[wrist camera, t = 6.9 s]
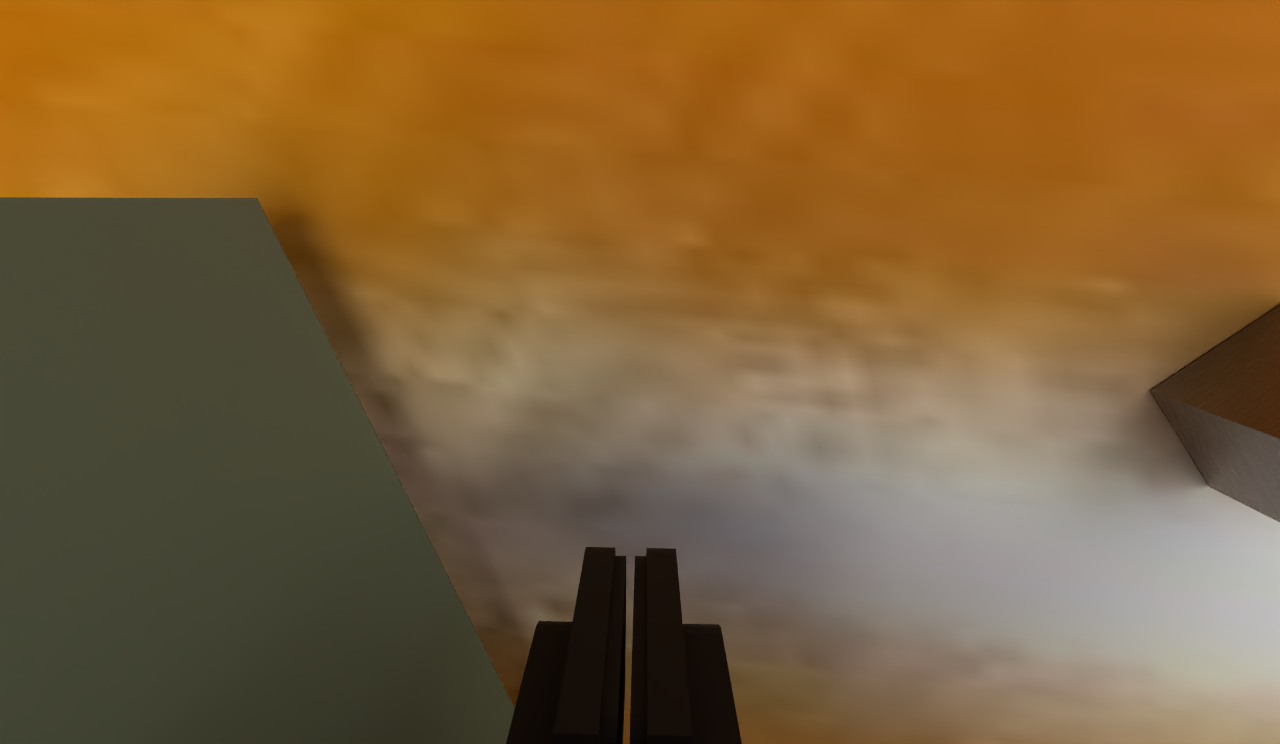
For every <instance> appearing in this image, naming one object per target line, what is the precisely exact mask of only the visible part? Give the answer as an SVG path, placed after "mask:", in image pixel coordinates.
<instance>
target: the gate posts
mask: <svg viewBox="0 0 1280 744" xmlns="http://www.w3.org/2000/svg"><path fill="white" fill-rule="evenodd" d="M1150 391H1151V393H1152V394H1153V396H1154V397H1155V399H1156V401H1157V402H1158V404H1159V406H1160V407H1161V409H1162V410H1163V412H1164V414H1165V415H1166V417H1167V418H1168V420H1169V422H1170V423H1171V425H1172V427H1173V428H1174V430H1175V431H1176V433H1177V435H1178V436H1179V438H1180V440H1181V441H1182V443H1183V444H1184V446H1185V448H1186V449H1187V451H1188V452H1189V454H1190V456H1191V457H1192V459H1193V461H1194V462H1195V464H1196V465H1197V467H1198V469H1199V470H1200V472H1201V474H1202V475H1203V477H1204V478H1205V480H1206V482H1207V483H1208V485H1209V486H1210V487H1211V488H1213V489H1215V490H1217V491H1219V492H1221V493H1223V494H1225V495H1227V496H1229V497H1231V498H1233V499H1235V500H1237V501H1239V502H1241V503H1243V504H1244V505H1246V506H1248V507H1250V508H1252V509H1254V510H1256V511H1258V512H1260V513H1262V514H1264V515H1266V516H1268V517H1270V518H1272V519H1274V520H1276V521H1278V522H1280V305H1279V306H1278V307H1276V308H1275V309H1273V310H1272V311H1270V312H1269V313H1267V314H1266V315H1264V316H1263V317H1261V318H1260V319H1258V320H1257V321H1255V322H1254V323H1252V324H1251V325H1249V326H1248V327H1246V328H1245V329H1243V330H1241V331H1240V332H1238V333H1237V334H1235V335H1234V336H1232V337H1231V338H1229V339H1228V340H1226V341H1225V342H1223V343H1222V344H1220V345H1219V346H1217V347H1216V348H1214V349H1213V350H1211V351H1210V352H1208V353H1207V354H1205V355H1204V356H1202V357H1200V358H1199V359H1197V360H1196V361H1194V362H1193V363H1191V364H1190V365H1188V366H1187V367H1185V368H1184V369H1182V370H1181V371H1179V372H1178V373H1176V374H1175V375H1173V376H1172V377H1170V378H1169V379H1167V380H1166V381H1164V382H1162V383H1161V384H1159V385H1158V386H1156V387H1155V388H1153V389H1152V390H1150Z"/></svg>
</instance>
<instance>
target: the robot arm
mask: <svg viewBox="0 0 1280 744" xmlns="http://www.w3.org/2000/svg"><path fill="white" fill-rule="evenodd" d="M625 649H626V556H615V548H608V547H586V549H585V554H584V560H583V566H582V572H581V577H580V583H579V589H578V595H577V600H576V606H575V612H574V618H573V622H553V621H539V622H538V624H537V626H536V629H535V633H534V637H533V641H532V644H531V648H530V652H529V656H528V660H527V664H526V668H525V671H524V675H523V679H522V683H521V687H520V691H519V695H518V699H517V702H516V706H515V710H514V714H513V718H512V722H511V726H510V729H509V733H508V737H507V741H506V744H623V724H624V700H625ZM630 744H742V743H741V737H740V732H739V726H738V721H737V715H736V709H735V704H734V698H733V693H732V687H731V681H730V676H729V670H728V665H727V659H726V653H725V648H724V642H723V637H722V632H721V627H720V626H719V625H712V624H682V613H681V602H680V590H679V579H678V568H677V556H676V549H664V548H647V554H646V556H635V576H634V611H633V645H632V679H631V714H630Z"/></svg>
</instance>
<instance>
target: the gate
mask: <svg viewBox="0 0 1280 744" xmlns="http://www.w3.org/2000/svg"><path fill="white" fill-rule="evenodd" d="M514 710H515V707H514V706H513V704H512V702H511V700H510V698H509V696H508V694H507V692H506V690H505V688H504V686H503V684H502V682H501V680H500V678H499V676H498V674H497V672H496V670H495V668H494V666H493V664H492V662H491V660H490V658H489V656H488V654H487V652H486V650H485V648H484V646H483V644H482V642H481V640H480V638H479V636H478V634H477V632H476V630H475V628H474V626H473V624H472V622H471V620H470V618H469V616H468V614H467V612H466V611H465V609H464V607H463V605H462V603H461V601H460V599H459V597H458V595H457V593H456V591H455V589H454V587H453V585H452V583H451V581H450V579H449V577H448V575H447V573H446V571H445V569H444V567H443V565H442V563H441V561H440V559H439V557H438V555H437V553H436V551H435V549H434V547H433V545H432V543H431V541H430V539H429V537H428V535H427V533H426V531H425V529H424V527H423V525H422V523H421V521H420V519H419V517H418V516H417V514H416V512H415V510H414V508H413V506H412V504H411V502H410V500H409V498H408V496H407V494H406V492H405V490H404V488H403V486H402V484H401V482H400V480H399V478H398V476H397V474H396V472H395V470H394V468H393V466H392V464H391V462H390V460H389V458H388V456H387V454H386V452H385V450H384V448H383V446H382V444H381V442H380V440H379V438H378V436H377V434H376V432H375V430H374V428H373V426H372V424H371V422H370V421H369V419H368V417H367V415H366V413H365V411H364V409H363V407H362V405H361V403H360V401H359V399H358V397H357V395H356V393H355V391H354V389H353V387H352V385H351V383H350V381H349V379H348V377H347V375H346V373H345V371H344V369H343V367H342V365H341V363H340V361H339V359H338V357H337V355H336V353H335V351H334V349H333V347H332V345H331V343H330V341H329V339H328V337H327V335H326V333H325V331H324V329H323V327H322V326H321V324H320V322H319V320H318V318H317V316H316V314H315V312H314V310H313V308H312V306H311V304H310V302H309V300H308V298H307V296H306V294H305V292H304V290H303V288H302V286H301V284H300V282H299V280H298V278H297V276H296V274H295V272H294V270H293V268H292V266H291V264H290V262H289V260H288V258H287V256H286V254H285V252H284V250H283V248H282V246H281V244H280V242H279V240H278V238H277V236H276V234H275V232H274V231H273V229H272V227H271V225H270V223H269V221H268V219H267V217H266V215H265V213H264V211H263V209H262V207H261V205H260V203H259V201H258V199H257V198H0V744H506V741H507V737H508V733H509V729H510V726H511V722H512V718H513V714H514Z"/></svg>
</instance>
